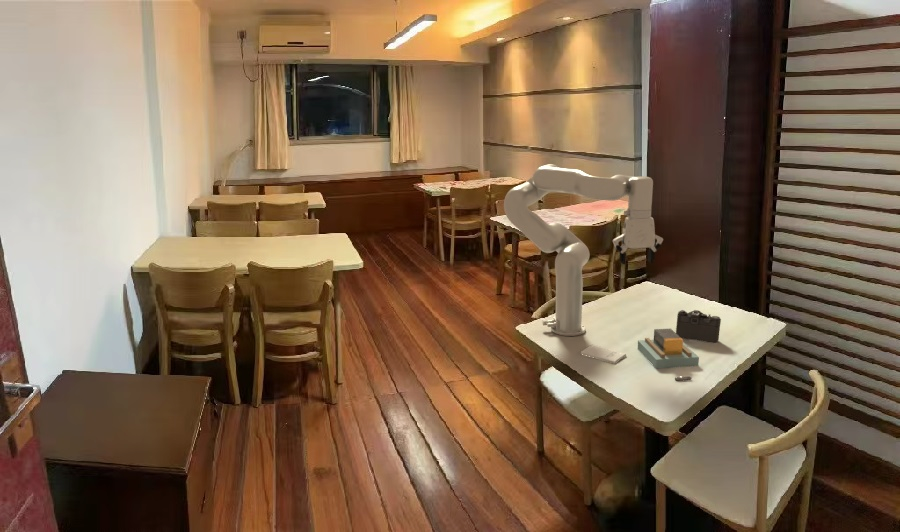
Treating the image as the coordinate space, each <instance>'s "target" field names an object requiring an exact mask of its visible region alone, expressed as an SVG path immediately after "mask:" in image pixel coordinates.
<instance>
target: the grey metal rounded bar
mask: <svg viewBox="0 0 900 532" xmlns="http://www.w3.org/2000/svg"><path fill="white" fill-rule="evenodd" d="M692 378H693V377H692V376H690V375H688V376H675V377H674V381H677V382H679V381H680V382H681V381H683V380H684V381H691V380H692ZM684 381H683V382H684Z"/></svg>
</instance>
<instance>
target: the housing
mask: <svg viewBox="0 0 900 532" xmlns="http://www.w3.org/2000/svg"><path fill="white" fill-rule="evenodd" d="M653 340H654V341H653V343H654V344H655V345H656V346H657V347H658V348H659V349H660V350H661V351H662V352H663V353H664V354H665V355H676V354H682V348H683V343H684V338H681V337H679V336H678V335H677V334H676V331H674V330H673V329H672V328H655V329H654V330H653Z"/></svg>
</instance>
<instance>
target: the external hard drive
mask: <svg viewBox="0 0 900 532" xmlns="http://www.w3.org/2000/svg"><path fill="white" fill-rule="evenodd" d="M581 354H583V355H582V356H584V355H587V356H586V357H588V356H590V357H589V358H591V357H594V358H593V359H595V358H596V360H599V359H600V360H599V361H602V360H603V362H606V363H609V362H611V363H610V364H613V363H614V364H613V365H615V364H617V363H618V362H619V361H620V360H623V359H624V358H625V357H626V356H627V353H624V352H620V351H617V350H614V349H609V348H606V347H602V346H598V345H595V344H591V345H589V346H588V347H586V348H584V349H583V350H581V352H580V355H581ZM623 357H624V358H623ZM616 362H617V363H616Z"/></svg>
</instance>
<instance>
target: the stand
mask: <svg viewBox="0 0 900 532" xmlns="http://www.w3.org/2000/svg"><path fill="white" fill-rule="evenodd" d="M653 341H654V339H650V337H645V338H644V339H642V340H641V339H640V340H637V350H638V351H639V353H641V354H642V355H643V356H644V358H646V359H647V361H648V360H649V361H650V362H651V363H652V364H653V365H652V364H651V363H650V362H649V361H648V362H649V363H650V364H651V365H652V366H653V367H654V368H655V369H666V368H667V369H669V368H668V367H670V368H682V367H683V368H686V367H699V361H700V356H698V355H697V354H696V353H695V352H694V351H693V350H692V349H691V348H689V347H688V346H687V345H686V344H685V343H684V342H683V348H682V354H676V355H665V354H664V353H663V352H662V351H661V350H660V349H659V348H658V347H657V346H656V345H655V344H654V343H653Z"/></svg>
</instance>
